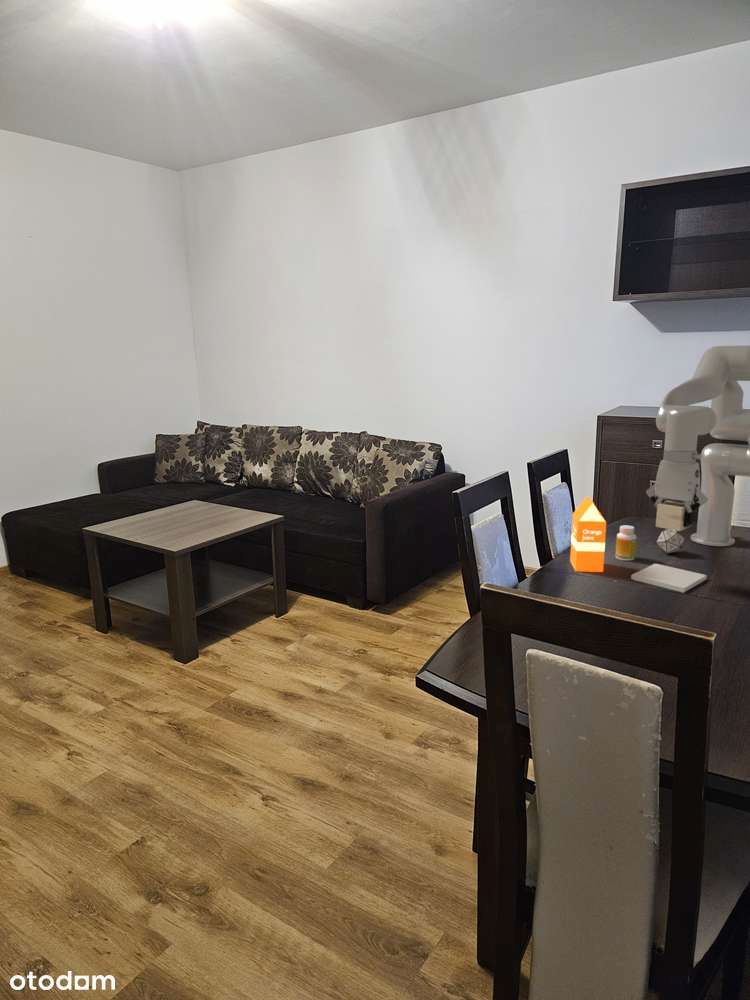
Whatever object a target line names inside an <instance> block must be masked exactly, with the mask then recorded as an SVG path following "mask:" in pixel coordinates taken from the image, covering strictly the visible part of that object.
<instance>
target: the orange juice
mask: <svg viewBox="0 0 750 1000" xmlns="http://www.w3.org/2000/svg"><path fill="white" fill-rule="evenodd" d="M571 525H572V526H571V537H570V539H571V540H570V541H571V542H570V559H569V560H570V562H569V563H571V565H572V567H573V570H574V571H575V572H591V573H595V572H597V573H603V572H604V560H605V550H606V533H607V521H606V520H605V518H604V517H603V516H602V514H601V512H600V511H599V510H598V508H597V507H596V505H595V503H594V501H593V500H592V499H591V498H590V496H588V495H586V497H585V498H584V499H583V501H581V503H580V504H579V505H578V506H577V508H576V509H575V510H574V512H573V513H572V523H571Z"/></svg>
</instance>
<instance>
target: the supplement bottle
mask: <svg viewBox="0 0 750 1000" xmlns="http://www.w3.org/2000/svg"><path fill="white" fill-rule="evenodd" d="M615 541H616V543H615V555H614V556H615V558H616V559H617V560H620V561H626V562H627V561H628V562H630V561H634V560H635V557H636V547H637V546H636V545H637V535H636V534H635V527H634V526H633V525H628V524H627V525H626V524H625V525H624V524H623V525H620V526H619V532H618V533H617V534H616V540H615Z"/></svg>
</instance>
